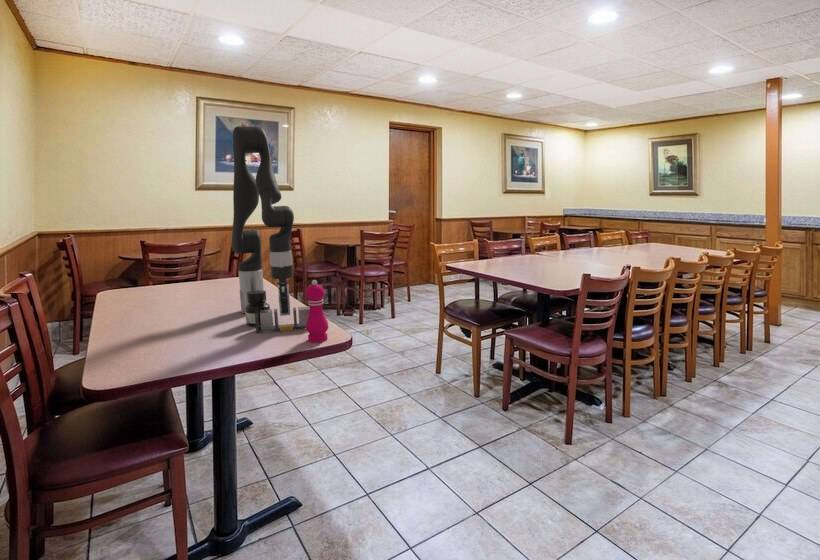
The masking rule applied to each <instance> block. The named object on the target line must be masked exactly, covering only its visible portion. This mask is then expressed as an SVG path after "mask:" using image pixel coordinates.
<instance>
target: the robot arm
mask: <svg viewBox="0 0 820 560" xmlns="http://www.w3.org/2000/svg"><path fill="white" fill-rule="evenodd" d="M232 152H233V154H232V155H233V190H232V191H233V193H232V194H233V196H232V197H233V205H232V206H233V218H232V219H233V221H232V222H233V223H232V231H231V247H232V251H233V252H234V254H236V255H237V254H238V255H239V254H240V255H241V254H242V255H243V254H251V255H250V256H249V257H248V258H247V259H246V260H243V261H240V262H239V263H238V265H237V269H238V281H239V299H240V300H239V301H240V307H241V309H240V311H241V314H245V307H246V306H247V305H248V304H249V303H248V301H247V292H249V291H255V290H264V275H263V260H262V240H261V234H260V231H259V230H257V229H249V230H248V229H247V230H246V229H245V230H244V228H245V224H246V222H247V220H249V218H250V217H251V216H252V214H253V213H254V211H255V210H256V209H257V207H258V205H259V202H260V204H261V220H262V224H264V225H265V226H266V227H268V228H280V229H279V231H278V232H277V233H273V234H271V235H270V236H269V238H268V240H269V263H270V276H271V279H274V280H278V281H279V282H276V283H277V284H276V286H277V290H278V298H279V297H280V302H281V309H282V314H287V313H288V296H289V297H290V292H289V291H290V290H289V289H290V284H289V283H290V282H289V281H288V280H287V279H291V278H293V277H294V266H293V265H294V264H293V263H294V262H293V254H292V249H291V248H292V246H291V236H292V230H293V227H294V220H295V216H294V214H295V213H294V211H293V209H292V208H291V207H290V206H288V205H278V206H276V204H277V203H279V202H280V201H281V200H282V193H281V190H280V187H279V184H278V182H277V179H276V176H275V172H274V167H273V161H272V157H271V156H272V155H271V150H270V146H269V141H268V136H267V134H266V132H265V130H264V129H263V127H261V126H256V125H255V126H254V125H253V126H252V125H250V126H249V125H247V126H245V125H241V126H235V127H234V128H233V130H232ZM246 154H259V157H260V162H259V167H258V169H257V173H256V175H255V176H254V175H253V173H252V172H251V170H250V169H249V167H248V165H247V162H246ZM259 200H260V201H259ZM264 291H265V290H264ZM283 296H286V299H282V297H283Z"/></svg>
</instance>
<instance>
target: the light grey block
mask: <svg viewBox="0 0 820 560" xmlns="http://www.w3.org/2000/svg"><path fill="white" fill-rule="evenodd" d="M282 299H286V296H283V297H282ZM278 306H279V316H280V317H282V316H291V302H290V295H289V296H288V313H287V314H282V309H281V302H280V297H279V296H278Z"/></svg>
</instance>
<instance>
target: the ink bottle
mask: <svg viewBox="0 0 820 560" xmlns="http://www.w3.org/2000/svg"><path fill="white" fill-rule="evenodd" d="M247 301H248V303H249V304H248V305H247V306H246V307H245V313H244V314H245V323H246V325H247V326H251V327H256V324H255V311H258V313H259V325H260V327H261V321H260V310H270V309H271V305H270V304H269V303H268V302H267V291H266V290H255V291H249V292H247Z"/></svg>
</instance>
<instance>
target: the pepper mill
mask: <svg viewBox="0 0 820 560" xmlns="http://www.w3.org/2000/svg"><path fill="white" fill-rule="evenodd" d="M324 296H325V289H324V287H323V286H322V285H320V284H318V281H317V280H316V279H313V280H312V281H311V284H310V285H309V286H307V288H306V289H305V297H306V298H307V299H308V300H307V305H308V306H309V308H310V313H309V317H308V320H307V323H306V329H305V330H306V332H308V335H307V339H308V342H310V343H314V342H318V343H323V341H324V342H326V341H327V340H328V333H327V331H328V330H329V323H328V320H327V317H326V316H325V314H324V310H323V305H324V299H323V298H324Z"/></svg>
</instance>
